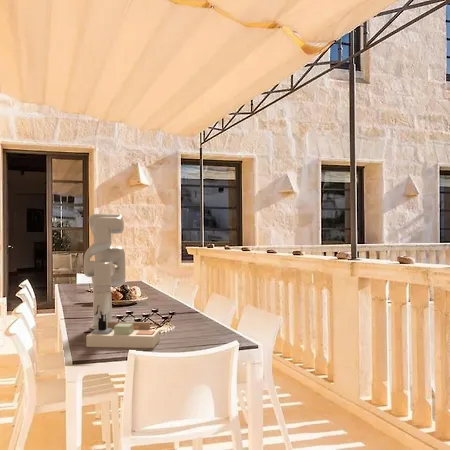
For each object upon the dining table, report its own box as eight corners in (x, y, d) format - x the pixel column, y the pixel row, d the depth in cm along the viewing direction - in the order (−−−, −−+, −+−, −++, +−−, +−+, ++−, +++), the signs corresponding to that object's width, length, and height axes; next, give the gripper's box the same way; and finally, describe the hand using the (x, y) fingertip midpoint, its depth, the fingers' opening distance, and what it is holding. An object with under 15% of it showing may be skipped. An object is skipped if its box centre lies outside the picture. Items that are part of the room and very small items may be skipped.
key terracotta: (136, 342, 227) (136, 333, 227) (139, 339, 234) (139, 330, 234) (151, 342, 227) (151, 333, 227) (154, 339, 234) (154, 330, 234)
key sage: (114, 335, 228) (114, 326, 228) (118, 332, 235) (118, 323, 235) (129, 335, 227) (129, 326, 227) (133, 332, 234) (133, 323, 234)
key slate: (92, 340, 228) (92, 331, 228) (97, 336, 235) (97, 327, 235) (107, 340, 228) (107, 331, 228) (112, 336, 235) (112, 328, 235)
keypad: (86, 346, 225) (86, 328, 225) (98, 338, 241) (98, 321, 241) (153, 347, 223) (153, 329, 223) (160, 339, 240) (160, 322, 240)
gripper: (99, 287, 239) (99, 326, 239) (88, 291, 224) (88, 332, 224) (115, 287, 239) (115, 326, 239) (105, 291, 224) (105, 333, 224)
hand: (102, 329), depth 231 cm, fingers closed
